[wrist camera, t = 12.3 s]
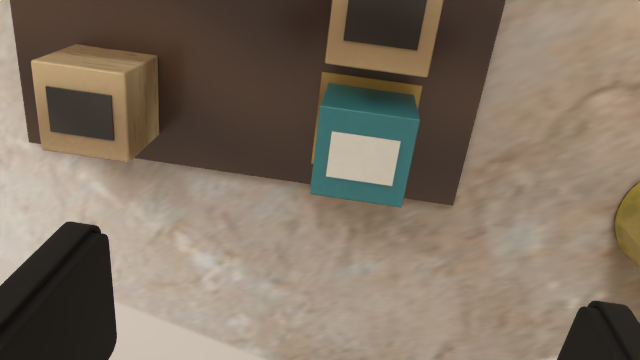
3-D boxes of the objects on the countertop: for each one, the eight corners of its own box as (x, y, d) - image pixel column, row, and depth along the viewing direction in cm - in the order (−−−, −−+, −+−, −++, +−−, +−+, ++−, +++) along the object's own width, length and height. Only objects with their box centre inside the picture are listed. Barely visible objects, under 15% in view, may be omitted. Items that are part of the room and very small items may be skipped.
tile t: (344, -51, 22) (337, -48, 18) (440, -39, 22) (451, -34, 18) (332, 46, 24) (324, 64, 20) (420, 58, 23) (428, 79, 20)
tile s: (328, 82, 24) (319, 106, 21) (414, 94, 24) (420, 120, 21) (318, 161, 26) (309, 195, 23) (399, 173, 26) (401, 209, 22)
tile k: (75, 43, 25) (28, 60, 21) (158, 54, 24) (123, 74, 21) (82, 123, 26) (39, 150, 23) (159, 134, 26) (127, 164, 23)
